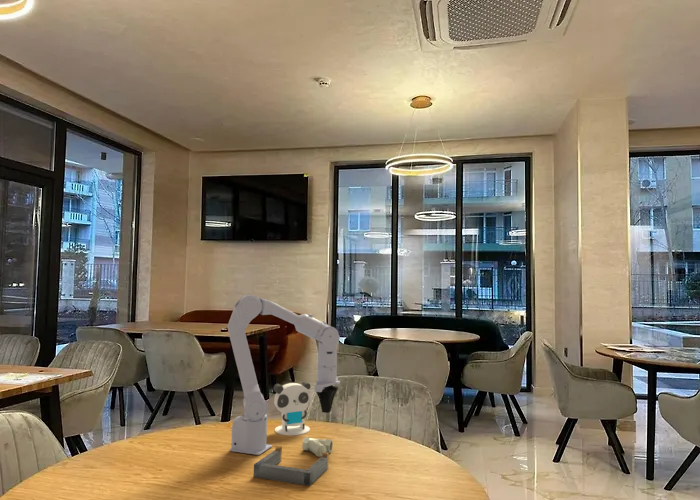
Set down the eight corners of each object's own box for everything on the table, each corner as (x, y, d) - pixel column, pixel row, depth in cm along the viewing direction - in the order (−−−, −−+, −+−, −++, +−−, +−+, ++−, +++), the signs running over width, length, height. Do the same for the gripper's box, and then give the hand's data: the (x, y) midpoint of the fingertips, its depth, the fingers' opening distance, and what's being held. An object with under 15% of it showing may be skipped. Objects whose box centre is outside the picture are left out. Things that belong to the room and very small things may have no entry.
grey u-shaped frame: (253, 477, 119) (254, 461, 119) (276, 460, 130) (276, 445, 130) (309, 485, 114) (310, 469, 114) (328, 467, 125) (328, 452, 126)
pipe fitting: (326, 460, 132) (332, 450, 139) (326, 446, 132) (332, 437, 139) (298, 458, 134) (306, 448, 141) (298, 444, 134) (306, 434, 141)
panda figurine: (278, 437, 150) (279, 388, 151) (268, 427, 160) (270, 381, 161) (314, 433, 155) (315, 385, 156) (303, 423, 165) (304, 379, 166)
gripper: (331, 370, 138) (330, 419, 137) (347, 363, 151) (346, 407, 150) (308, 368, 140) (307, 416, 139) (326, 361, 154) (325, 405, 153)
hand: (326, 411), depth 145 cm, fingers closed
